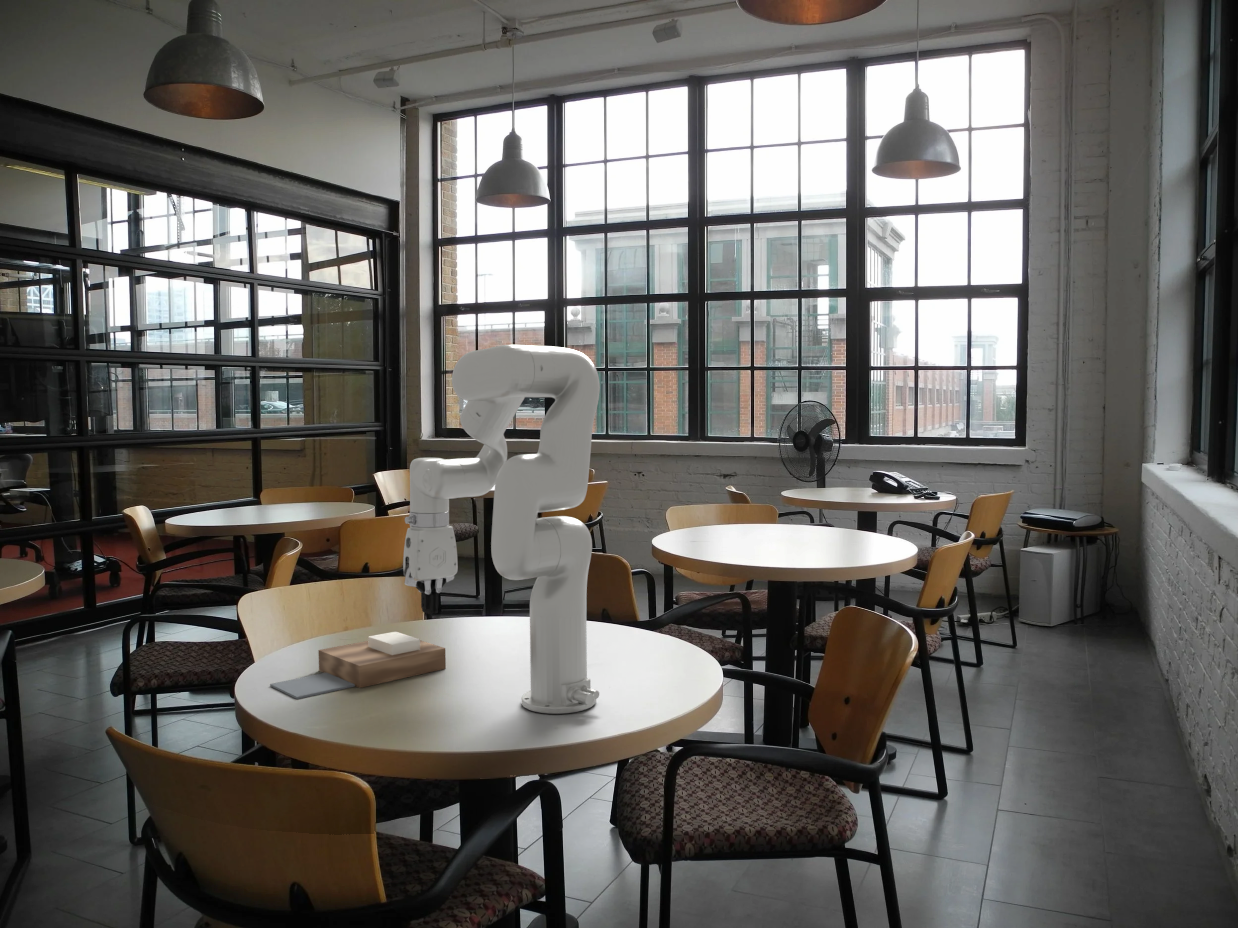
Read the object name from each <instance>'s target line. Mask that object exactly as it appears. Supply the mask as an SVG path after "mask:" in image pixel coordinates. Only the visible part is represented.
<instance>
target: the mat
mask: <svg viewBox="0 0 1238 928" xmlns="http://www.w3.org/2000/svg"><path fill="white" fill-rule="evenodd" d="M269 687H270V688H274V689H275V690H278V691H280V692H282V693H284V694H286V695H287V696H289V697H292V698H294V699H296V700H300V699H305V698H309V697H314V696H317V695H322V694H327V693H330V692H335V691H339V690H346V689H349V688H354V687H356V686H355V684H353V683H351V682H348V681H346V680H343V679H341V678H339V677H336V676H334V675H331V674H329V673H327V672H326V673H323V672H321V673H317V674H311V675H307V676H302V677H298V678H293V679H287V680H283V681H279V682H278V681H277V682H273V683H270V684H269Z"/></svg>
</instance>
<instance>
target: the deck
mask: <svg viewBox="0 0 1238 928" xmlns="http://www.w3.org/2000/svg"><path fill="white" fill-rule="evenodd" d="M446 663H447V662H446V647H443V646H439V645H436V644H433V643H430V642H428V641H424V640H421V639H420V650H415V651H410V652H406V653H401V654H396V655H390V654H387V653H384V652H382V651H379V650H376V649H373V648H370V647H368V640H365V641H364V640H363V641H360V642H359V641H358V642H355V643H350V644H343V645H338V646H334V647H333V646H332V647H327V648H322V649H318V671H319V672H321V673H326V672H327V673H329V674H331V675H334V676H336V677H339V678H341V679H343V680H346V681H348V682H351V683H353V684H355V687H357V688H360V689H362V688H366V687H370V686H375V685H378V684H383V683H388V682H392V681H396V680H403V679H406V678H411V677H414V676H419V675H424V674H428V673H432V672H437V671H442V670H446V666H447V665H446Z"/></svg>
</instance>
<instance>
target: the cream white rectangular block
mask: <svg viewBox="0 0 1238 928" xmlns="http://www.w3.org/2000/svg"><path fill="white" fill-rule="evenodd" d="M420 640H421V639H420V638H418V637H415V636H411V635H408V634H405V633H401V632H398V631H391V632H386V633H380V634H375V635H370V636H368V637H367V641H368V647H370V648H373V649H376V650H379V651H382V652H384V653H387V654H390V655H396V654H401V653H406V652H410V651H415V650H420Z"/></svg>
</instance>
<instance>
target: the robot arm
mask: <svg viewBox="0 0 1238 928" xmlns="http://www.w3.org/2000/svg"><path fill="white" fill-rule="evenodd" d="M451 384H452V389H453V391H454V393H455V394H456V396H457V397H458V398H459V399H461V400H463V401H466V404H465V406H464V407H463V409H462V410H461V413H460V416H459V417H460V418H459V421H460V425H461V427H462V429H463V430H464V431H465V433H467V435H469V436H470V437H471V438H472V439H474V441H475V440H476V441H477V442H479V443H480V444H483V446H482V447H481V450H480V451H479V453H478V454H477V455H476V456H475V457H465V458H464V457H463V458H461V457H458V458H447V459H446V458H441V457H418V458H415V459H413V460H412V461H411V462H410V465H409V502H410V503H409V516H404V522H405V524H406V525H407V524H409V527H408V528H407V530H406V532H405V533H406V534H405V539H404V547H403V562H402V563H403V564H402V566H403V567H402V568H403V570H402V571H403V576H404V577H405V578H404V585H405V586H407V587H415V588H416V589H417V590H418V592H419V593H420V596H421V597H420V603H421V604H420V607H421V611H422V613H425V614H428V615H433V614H438V611H439V602H440V601H439V597H440V596H439V594H440V593H441V592H442V588H443V587H444V586H445V584H446V583H449V582H451V581H454V579H455V575H456V574H457V573H458V549H457V542H456V536H455V532H454V527H453V526H451V525H450V499H457V498H473V497H480V496H481V497H482V496H484V495H486V494H487V493H489V492H491V490H492V489H493V488H494V492H493V509H492V520H491V521H492V522H491V523H492V525H491V542H490V545H491V546H490V548H491V549H490V551H491V558H492V562H493V565H494V568H495V570H496V571H497V573H498V574H499V575H500V576H502V577H503V578H505V579H507V580H512V581H519V580H521V581H522V580H528V579H533V578H536V580H535V582H534V583H533V587H532V590H531V593H530V599H529V657H530V658H529V660H530V661H529V665H530V667H529V669H530V675H529V676H530V690H528V691H526V692H525V693H524V694H523V695H522V696H521V705H522V706H523V708H525V709H526V710H529V711H532V712H536V713H540V714H541V713H542V714H553V715H555V714H556V715H559V714H560V715H561V714H571V713H577V712H581V711H585V710H588V709H590V708H592V707H593V706H595V705H596V703H597V700H598V698H599V696H600V692H599V690H596V689H593V688H591V687H592V686H591V678H589V677H588V660H587V658H588V654H587V653H588V652H587V649H588V648H587V644H588V643H587V642H588V641H587V634H588V633H587V594H588V593H587V590H588V589H587V587H588V577H589V576H588V575H589V569H590V563H591V559H592V552H593V539H592V535H591V533H590V530H589V528H588V527H587V525H586V524H585V523H584V522H582V521H581V520H579V519H578V518H575V517H573V516H567V515H559V516H558V515H555V516H547V517H545V516H544V517H538V514H539V513H545V512H555V511H565V510H568V509H574V508H576V507H578V506H580V505H581V504H582V503H583V502H584V501H585V499H586V496H587V491H588V487H589V475H590V463H591V450H592V435H593V427H594V421H595V417H596V413H597V408H598V405H599V399H600V390H601V389H600V386H601V384H600V377H599V373H598V370H597V368H596V366H595V364H594V362H593V361H592V360H591V359H590V358H589V357H588V356H587V355H586V354H584V353H583V352H581V351H578V350H575V349H572V348H568V347H561V346H552V345H529V344H528V345H527V344H502V345H497V346H492V347H488V348H487V347H486V348H483V349H478V350H472V351H468V352H467V353H465V354H463V355H462V356H461V357H460V358H459V359H458V360H457V362H456V363H455V365H454V367H453V371H452V376H451ZM525 398H552V399H554V402H553V403H552V405H551V406H550V407H549V408H548V410H547V411H546V414H545V415H544V417H543V420H542V423H541V427H540V430H539V433H540V435H539V436H540V437H539V445H538V450H537V452H536V453H525V454H523V453H522V454H517V455H514V456H512V457H510V458H508V445H507V440H506V438H505V432H506V430H507V428H508V427H509V426H510V423H511V422H512V420H513V418H514V417H515V415H516V413H517V412H518V410H519V408H520V406H521V404H522V403H523V401H524V400H525ZM537 517H538V518H537Z"/></svg>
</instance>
